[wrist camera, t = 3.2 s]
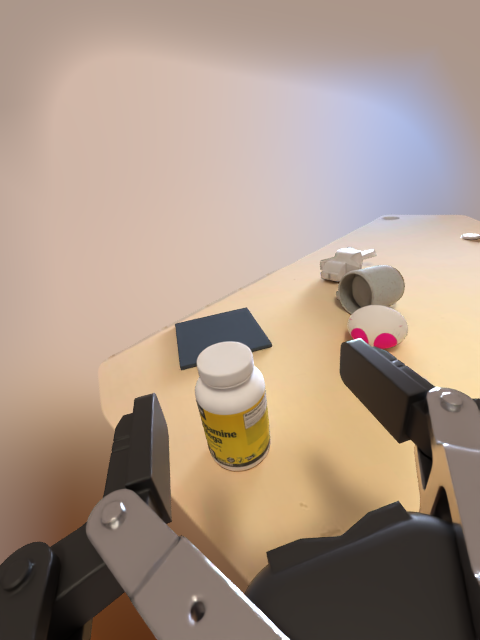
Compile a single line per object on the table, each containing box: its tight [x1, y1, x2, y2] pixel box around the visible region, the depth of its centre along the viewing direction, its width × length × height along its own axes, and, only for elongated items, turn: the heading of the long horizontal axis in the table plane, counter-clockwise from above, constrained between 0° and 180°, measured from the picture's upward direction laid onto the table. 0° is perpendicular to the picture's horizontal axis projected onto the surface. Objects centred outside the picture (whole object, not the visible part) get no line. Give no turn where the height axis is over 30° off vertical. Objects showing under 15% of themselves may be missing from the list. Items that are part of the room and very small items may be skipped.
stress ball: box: [348, 305, 408, 349], centre depth 39 cm, size 8×8×7 cm
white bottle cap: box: [461, 233, 480, 239], centre depth 76 cm, size 4×4×1 cm
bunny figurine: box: [320, 247, 377, 282], centre depth 64 cm, size 10×5×15 cm
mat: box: [175, 307, 272, 370], centre depth 48 cm, size 14×14×1 cm
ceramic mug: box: [336, 265, 405, 314], centre depth 49 cm, size 11×8×8 cm
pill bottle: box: [195, 342, 270, 471], centre depth 26 cm, size 6×6×11 cm
